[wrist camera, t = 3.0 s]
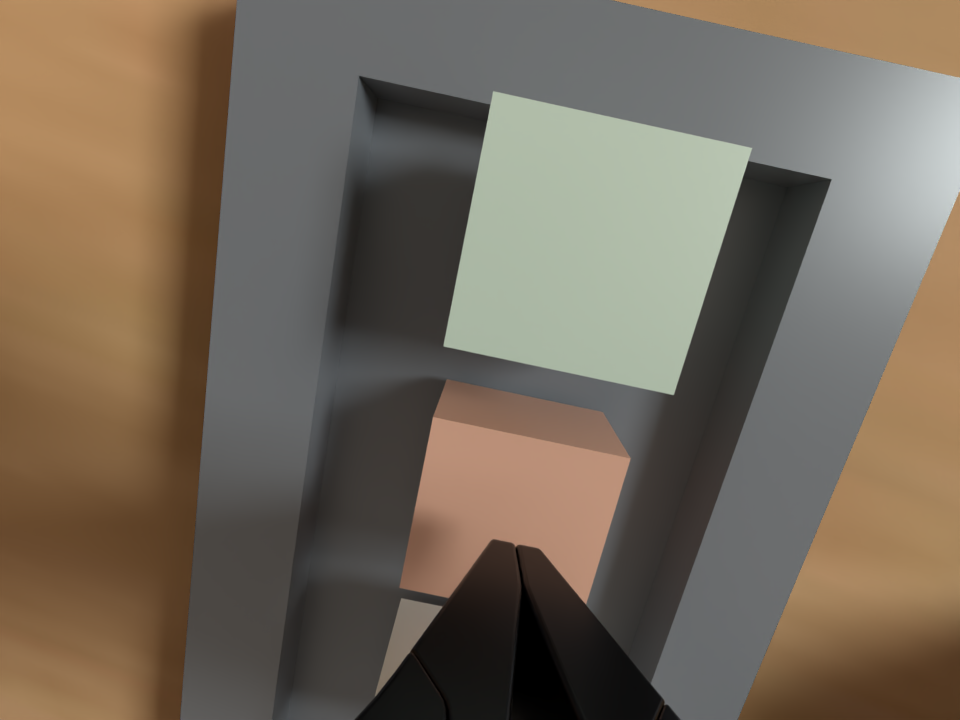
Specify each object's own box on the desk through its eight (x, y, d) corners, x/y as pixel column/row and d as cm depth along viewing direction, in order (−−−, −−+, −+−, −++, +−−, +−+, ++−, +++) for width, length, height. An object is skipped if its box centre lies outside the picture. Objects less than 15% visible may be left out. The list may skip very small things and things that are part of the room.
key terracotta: (564, 548, 13) (579, 624, 10) (419, 519, 13) (399, 588, 10) (602, 411, 12) (630, 458, 9) (446, 378, 12) (432, 417, 9)
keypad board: (608, 881, 17) (626, 985, 15) (212, 803, 17) (166, 895, 15) (896, 119, 12) (1002, 87, 9) (298, -14, 11) (243, -82, 9)
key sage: (631, 357, 11) (673, 395, 8) (456, 320, 11) (443, 346, 8) (686, 171, 10) (752, 148, 7) (494, 129, 10) (493, 91, 7)
